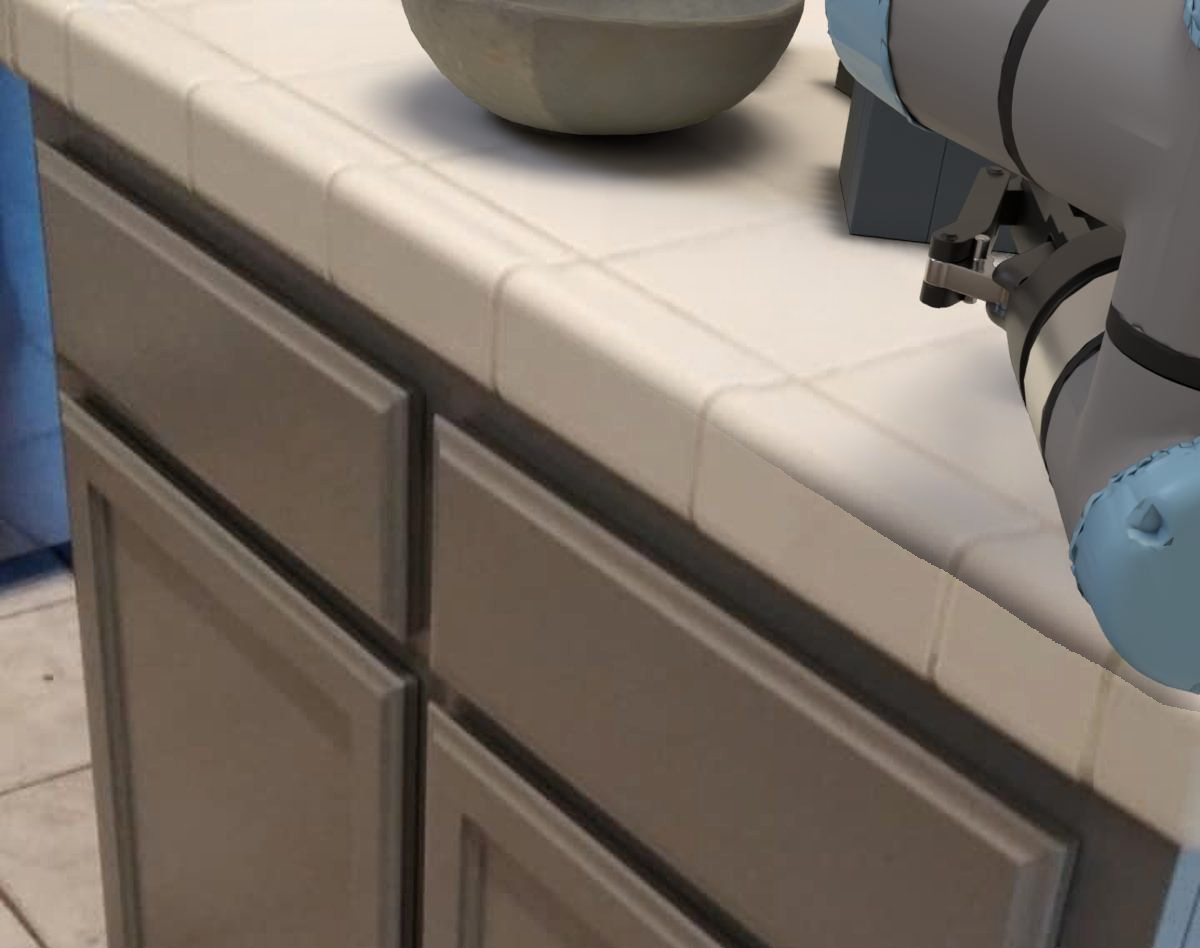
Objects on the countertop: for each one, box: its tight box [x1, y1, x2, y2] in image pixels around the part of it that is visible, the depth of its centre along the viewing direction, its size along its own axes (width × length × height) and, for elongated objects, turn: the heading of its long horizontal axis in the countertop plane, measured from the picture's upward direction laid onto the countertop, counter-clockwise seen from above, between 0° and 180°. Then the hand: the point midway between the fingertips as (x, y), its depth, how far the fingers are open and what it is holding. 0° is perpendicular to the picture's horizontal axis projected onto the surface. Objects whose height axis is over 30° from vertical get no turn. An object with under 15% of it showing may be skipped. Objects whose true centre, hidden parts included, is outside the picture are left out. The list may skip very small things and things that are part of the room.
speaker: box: [838, 79, 1019, 254], centre depth 100 cm, size 10×12×13 cm
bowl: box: [400, 0, 806, 136], centre depth 108 cm, size 21×21×8 cm
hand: (1040, 150), depth 86 cm, fingers closed
